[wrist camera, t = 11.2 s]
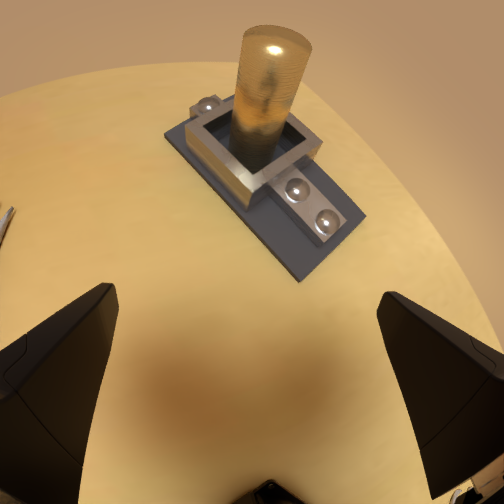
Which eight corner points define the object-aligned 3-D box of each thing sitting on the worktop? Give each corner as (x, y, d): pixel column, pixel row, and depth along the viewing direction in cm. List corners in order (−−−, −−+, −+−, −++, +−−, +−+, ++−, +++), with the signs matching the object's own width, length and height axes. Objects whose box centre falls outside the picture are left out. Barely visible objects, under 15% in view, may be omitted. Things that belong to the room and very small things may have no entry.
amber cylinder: (279, 167, 25) (324, 58, 13) (237, 179, 24) (260, 62, 13) (261, 134, 26) (291, 24, 14) (220, 144, 25) (233, 27, 13)
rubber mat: (363, 218, 26) (366, 216, 25) (298, 282, 23) (300, 281, 23) (236, 96, 28) (237, 93, 27) (164, 137, 25) (163, 133, 25)
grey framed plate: (356, 210, 25) (374, 194, 22) (296, 267, 23) (311, 256, 20) (233, 94, 27) (236, 70, 24) (168, 130, 25) (164, 105, 22)
